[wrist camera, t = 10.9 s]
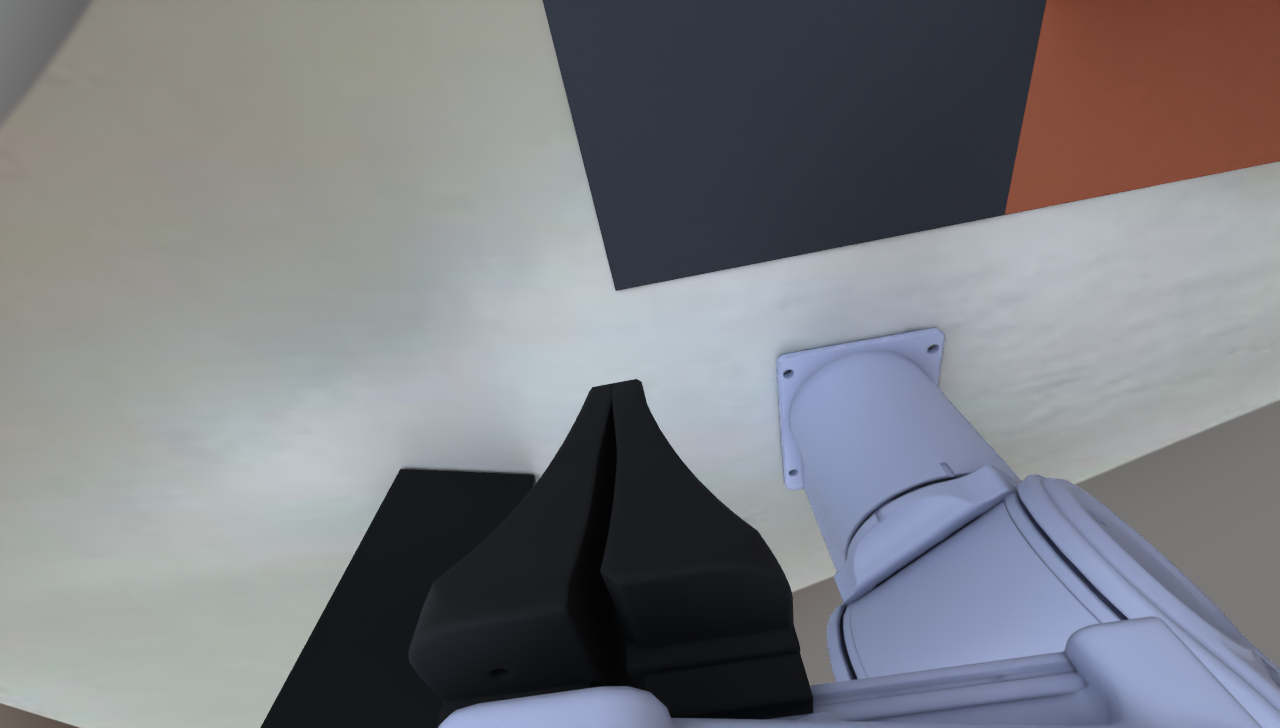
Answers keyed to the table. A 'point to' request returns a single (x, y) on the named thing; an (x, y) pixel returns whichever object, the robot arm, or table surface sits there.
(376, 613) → the tall black box
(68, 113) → the table surface
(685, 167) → the desk mat
